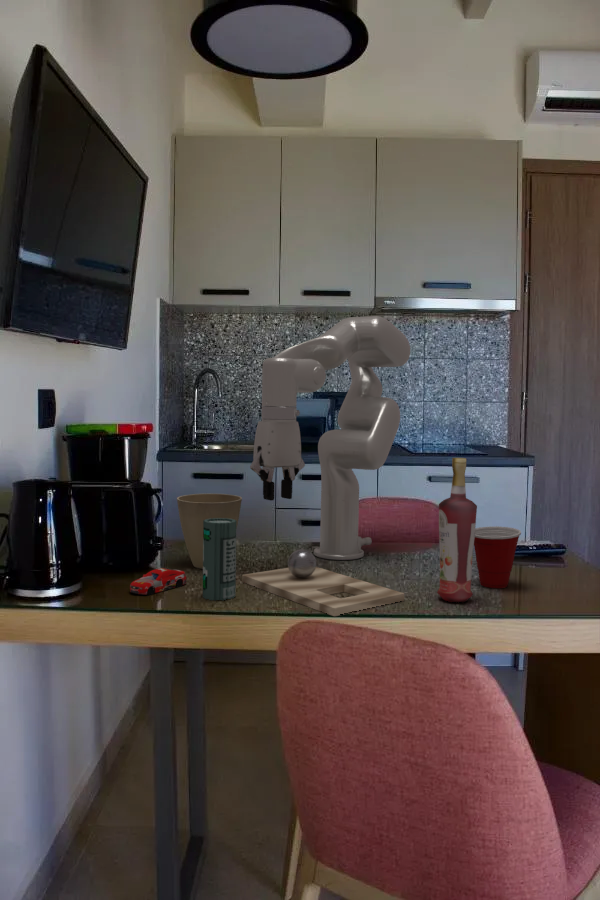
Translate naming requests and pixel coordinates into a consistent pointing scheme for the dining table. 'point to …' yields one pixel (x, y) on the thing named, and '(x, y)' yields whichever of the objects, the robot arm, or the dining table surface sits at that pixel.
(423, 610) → the dining table surface
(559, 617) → the dining table surface
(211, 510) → the plant pot
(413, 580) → the dining table surface
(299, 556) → the steel ball
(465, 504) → the liquor
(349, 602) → the wooden recessed tray
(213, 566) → the can
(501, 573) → the plastic cup
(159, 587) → the race car
